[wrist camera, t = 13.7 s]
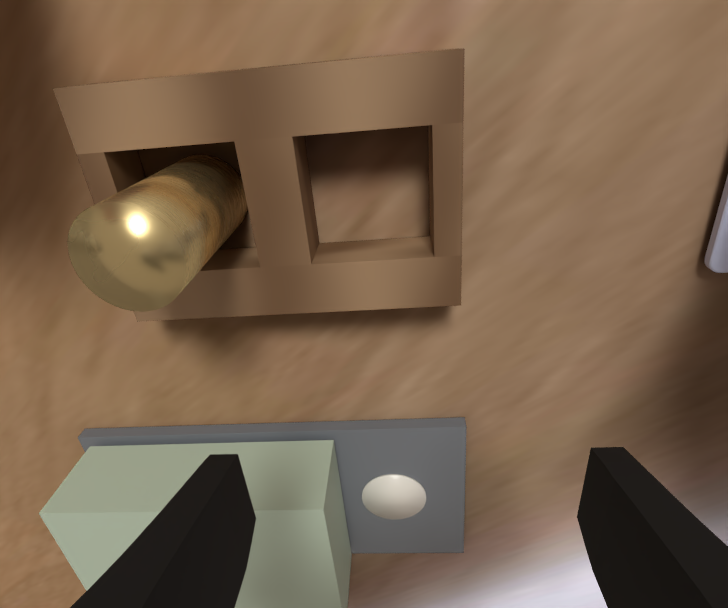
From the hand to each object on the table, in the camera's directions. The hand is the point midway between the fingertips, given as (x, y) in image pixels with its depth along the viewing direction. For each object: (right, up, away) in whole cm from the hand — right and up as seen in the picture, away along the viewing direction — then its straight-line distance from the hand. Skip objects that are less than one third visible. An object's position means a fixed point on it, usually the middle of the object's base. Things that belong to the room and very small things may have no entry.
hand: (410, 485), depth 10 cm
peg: (-7, +8, +7) cm, 13 cm away
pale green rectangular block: (-8, -6, +15) cm, 18 cm away
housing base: (-5, -6, +15) cm, 17 cm away
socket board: (-4, +8, +7) cm, 11 cm away
